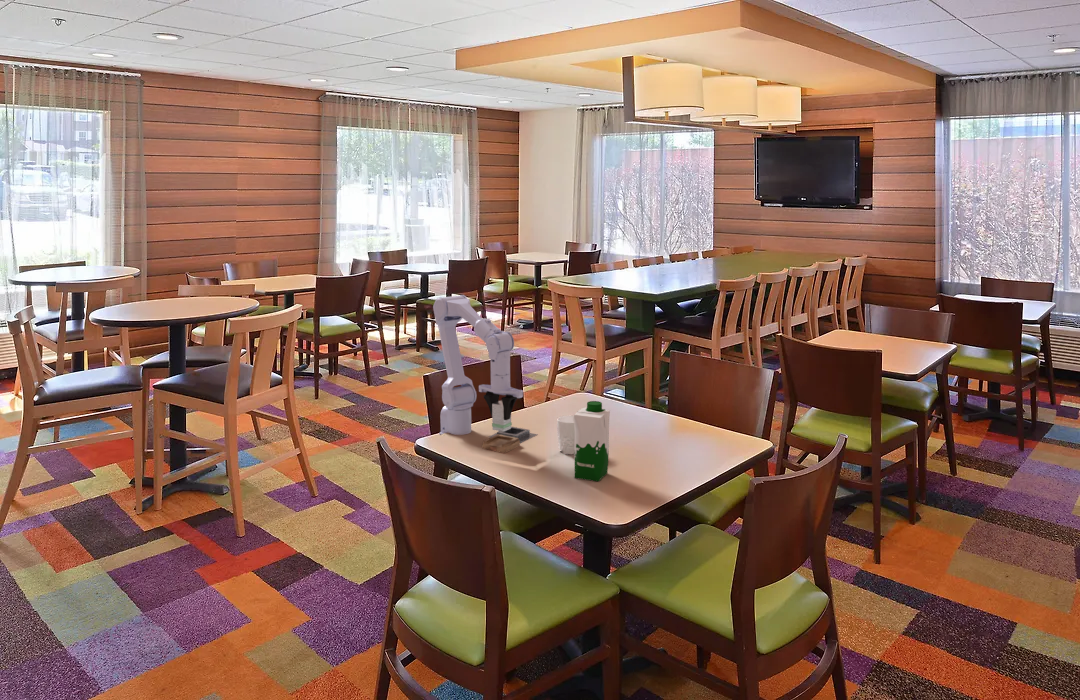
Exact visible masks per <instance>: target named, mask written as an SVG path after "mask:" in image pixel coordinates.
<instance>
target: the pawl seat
mask: <svg viewBox="0 0 1080 700" xmlns="http://www.w3.org/2000/svg"><path fill="white" fill-rule="evenodd" d="M520 444H521V443H520V441H519V438H515V437H510V436H505V435H500V434H497V435H495V436H493V437H488V438H486V439H484V440H483V442H482V449H484V450H488V451H494V452H496V453H497V452H498V453H503V454H506V453H508V452H510V451H512V450H514V449H516V448H518V447H520V446H521V445H520Z"/></svg>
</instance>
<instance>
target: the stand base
mask: <svg viewBox="0 0 1080 700" xmlns="http://www.w3.org/2000/svg"><path fill="white" fill-rule="evenodd" d="M497 434H500V435H505V436H510V437H515V438H519V441H520V444H521V443H524V442H526V441H529V440H530V439H532V438H534V437H536V436H538V433H537V434H536V433H532V432H531V431H530V429H526V428H523V427H522V428H521V427H517V426H511V429H509V430H507V431H504V432H502V431H496V433H493V434H491V435H489V436H488V438H491V437H493V436H495V435H497Z"/></svg>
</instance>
